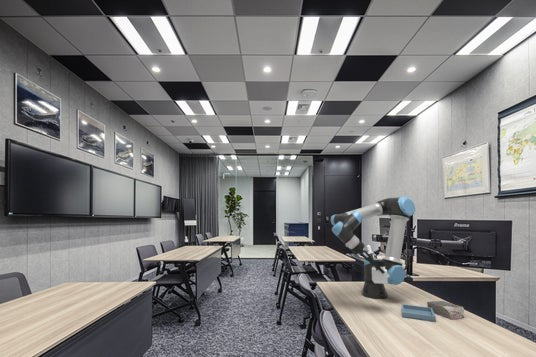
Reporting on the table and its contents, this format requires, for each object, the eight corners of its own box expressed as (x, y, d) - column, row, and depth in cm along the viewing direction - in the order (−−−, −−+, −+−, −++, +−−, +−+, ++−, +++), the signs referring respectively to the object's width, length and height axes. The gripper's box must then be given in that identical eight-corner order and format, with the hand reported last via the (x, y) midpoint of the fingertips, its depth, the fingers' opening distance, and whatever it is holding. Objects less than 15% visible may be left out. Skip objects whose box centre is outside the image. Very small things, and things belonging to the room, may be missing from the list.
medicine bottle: (388, 284, 153) (387, 261, 155) (374, 283, 155) (373, 260, 156) (385, 281, 160) (384, 259, 162) (371, 280, 162) (371, 258, 163)
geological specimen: (440, 299, 160) (466, 306, 146) (441, 311, 159) (468, 319, 145) (426, 300, 157) (451, 307, 143) (427, 312, 156) (452, 321, 142)
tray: (401, 308, 159) (401, 303, 159) (432, 312, 153) (432, 307, 153) (402, 317, 145) (401, 312, 146) (435, 322, 139) (435, 316, 140)
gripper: (348, 247, 172) (377, 276, 167) (352, 251, 152) (385, 285, 147) (357, 238, 172) (386, 267, 167) (362, 242, 152) (396, 274, 147)
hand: (386, 275), depth 157 cm, fingers closed on medicine bottle, 7 cm apart
